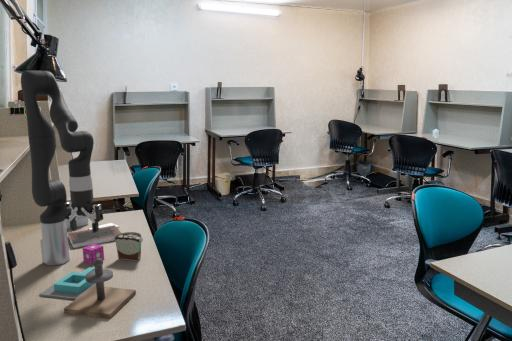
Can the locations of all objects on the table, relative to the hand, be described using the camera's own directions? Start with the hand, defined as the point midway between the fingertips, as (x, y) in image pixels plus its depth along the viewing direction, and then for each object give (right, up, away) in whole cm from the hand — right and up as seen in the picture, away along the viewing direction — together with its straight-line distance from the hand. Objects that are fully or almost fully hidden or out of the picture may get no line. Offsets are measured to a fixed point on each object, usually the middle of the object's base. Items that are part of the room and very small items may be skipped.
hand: (84, 231), depth 155 cm
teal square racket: (-1, -18, -2) cm, 18 cm away
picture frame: (-13, -10, +45) cm, 48 cm away
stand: (+11, -21, -15) cm, 28 cm away
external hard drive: (-14, -8, +58) cm, 60 cm away
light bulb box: (-30, -6, +64) cm, 71 cm away
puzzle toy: (-4, -15, +20) cm, 25 cm away
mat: (-2, -19, -4) cm, 20 cm away
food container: (+11, -14, +22) cm, 29 cm away
